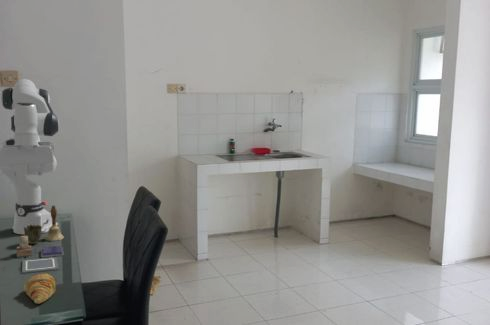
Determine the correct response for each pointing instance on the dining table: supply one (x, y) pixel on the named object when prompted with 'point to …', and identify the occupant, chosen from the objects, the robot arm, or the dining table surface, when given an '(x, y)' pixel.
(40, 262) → the board
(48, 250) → the ink pad
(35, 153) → the robot arm
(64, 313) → the dining table surface
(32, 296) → the croissant
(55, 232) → the hand bell
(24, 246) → the stamp
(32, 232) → the cup
